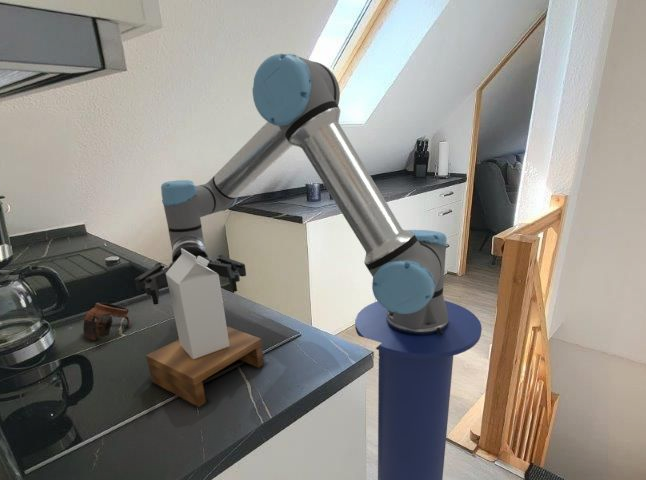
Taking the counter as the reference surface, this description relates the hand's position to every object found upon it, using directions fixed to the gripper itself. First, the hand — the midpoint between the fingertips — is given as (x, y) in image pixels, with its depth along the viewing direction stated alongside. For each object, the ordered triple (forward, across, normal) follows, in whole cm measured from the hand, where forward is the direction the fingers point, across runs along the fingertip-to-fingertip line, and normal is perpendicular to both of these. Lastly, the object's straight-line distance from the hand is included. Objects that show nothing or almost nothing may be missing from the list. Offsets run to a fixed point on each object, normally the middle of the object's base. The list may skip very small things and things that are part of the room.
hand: (195, 290), depth 73 cm
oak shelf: (-1, 0, -18) cm, 18 cm away
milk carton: (-1, 0, -12) cm, 12 cm away
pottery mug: (-29, +21, -18) cm, 40 cm away
